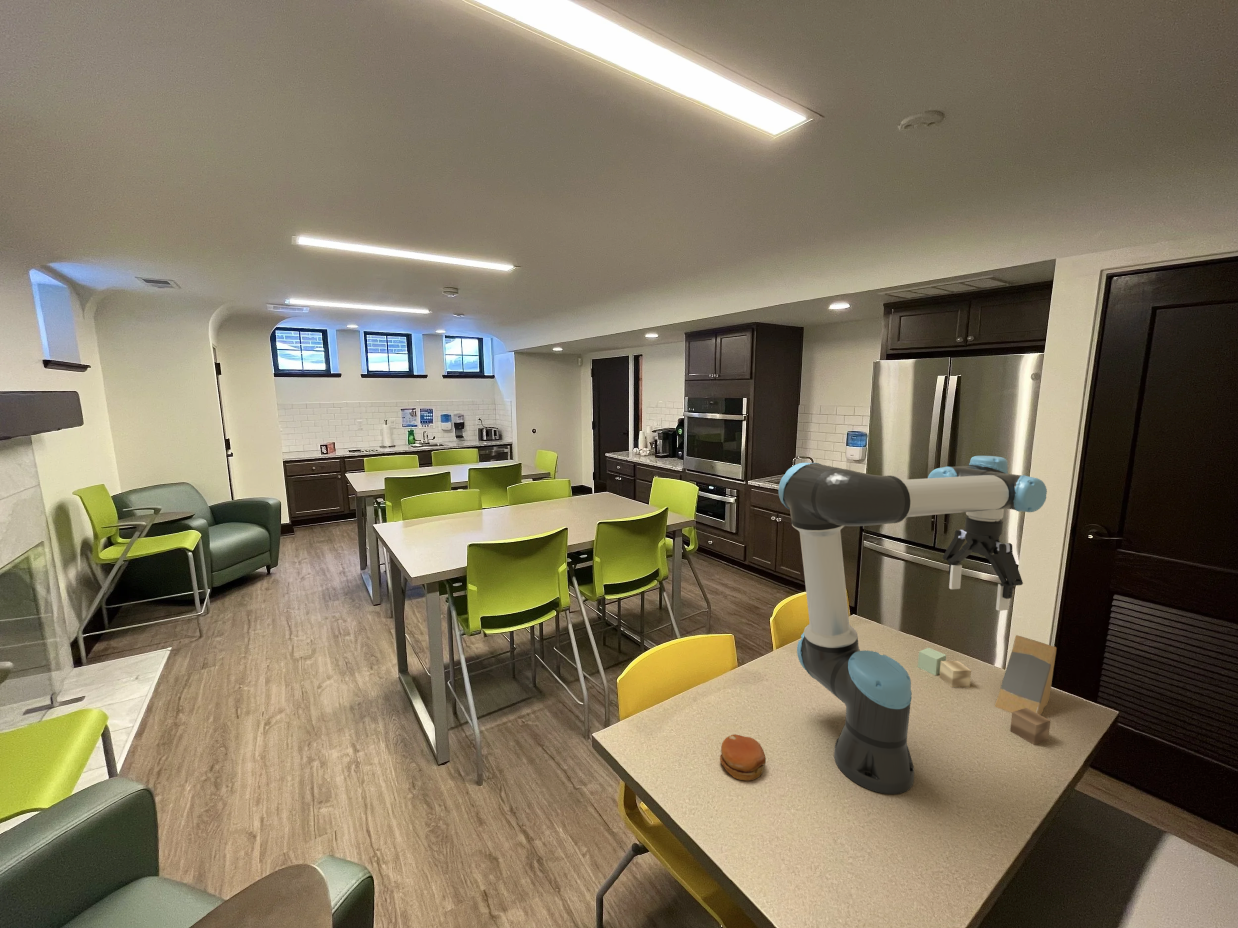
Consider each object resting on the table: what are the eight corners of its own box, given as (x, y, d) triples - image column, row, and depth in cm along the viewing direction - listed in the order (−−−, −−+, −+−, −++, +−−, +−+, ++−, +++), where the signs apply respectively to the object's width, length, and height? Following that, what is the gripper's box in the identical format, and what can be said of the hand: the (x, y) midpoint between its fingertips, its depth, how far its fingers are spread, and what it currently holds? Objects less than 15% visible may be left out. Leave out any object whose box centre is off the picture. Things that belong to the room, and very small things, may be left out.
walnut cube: (1033, 745, 111) (1036, 725, 110) (1010, 731, 115) (1012, 711, 115) (1048, 740, 112) (1050, 720, 112) (1024, 726, 117) (1026, 707, 116)
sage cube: (935, 675, 139) (936, 659, 138) (917, 667, 143) (918, 651, 143) (944, 670, 141) (946, 654, 141) (927, 663, 146) (928, 647, 145)
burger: (750, 789, 98) (751, 768, 98) (711, 765, 105) (711, 745, 104) (773, 763, 105) (774, 743, 105) (735, 742, 112) (735, 724, 111)
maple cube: (951, 687, 133) (953, 670, 132) (939, 677, 138) (940, 660, 137) (969, 687, 133) (971, 670, 133) (956, 677, 138) (958, 660, 138)
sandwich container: (992, 706, 125) (998, 651, 123) (1009, 685, 134) (1015, 634, 133) (1035, 723, 118) (1042, 666, 116) (1050, 700, 128) (1057, 646, 126)
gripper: (1048, 529, 110) (1038, 618, 113) (954, 506, 134) (949, 579, 137) (1020, 531, 109) (1011, 621, 111) (931, 507, 133) (925, 581, 136)
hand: (977, 598), depth 124 cm, fingers open, 13 cm apart
